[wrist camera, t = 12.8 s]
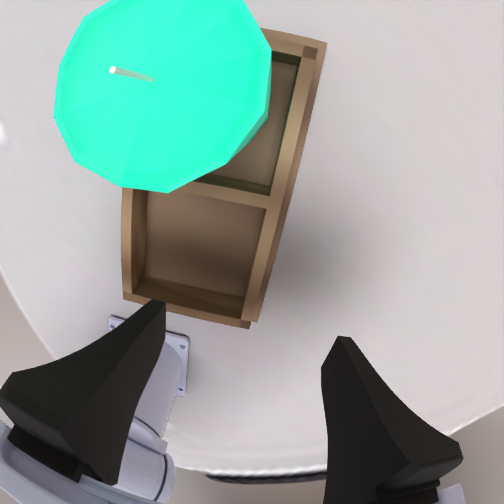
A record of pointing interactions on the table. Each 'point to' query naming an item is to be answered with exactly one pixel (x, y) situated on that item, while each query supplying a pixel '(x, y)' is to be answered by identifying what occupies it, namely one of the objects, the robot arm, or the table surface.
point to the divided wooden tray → (225, 208)
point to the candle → (163, 89)
